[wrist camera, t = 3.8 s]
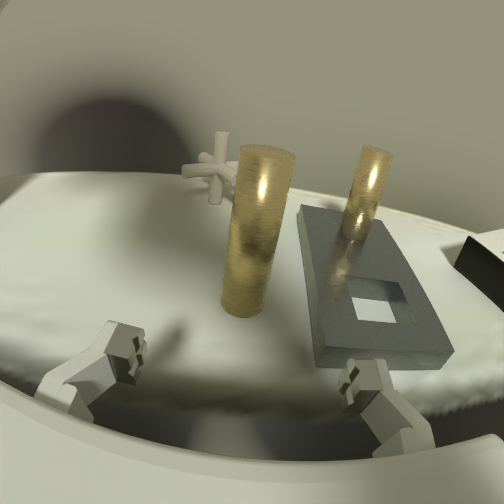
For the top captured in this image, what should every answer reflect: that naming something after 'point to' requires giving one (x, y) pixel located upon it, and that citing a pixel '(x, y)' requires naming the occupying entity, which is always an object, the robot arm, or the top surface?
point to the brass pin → (255, 226)
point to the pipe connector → (214, 168)
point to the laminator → (484, 264)
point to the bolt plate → (365, 281)
